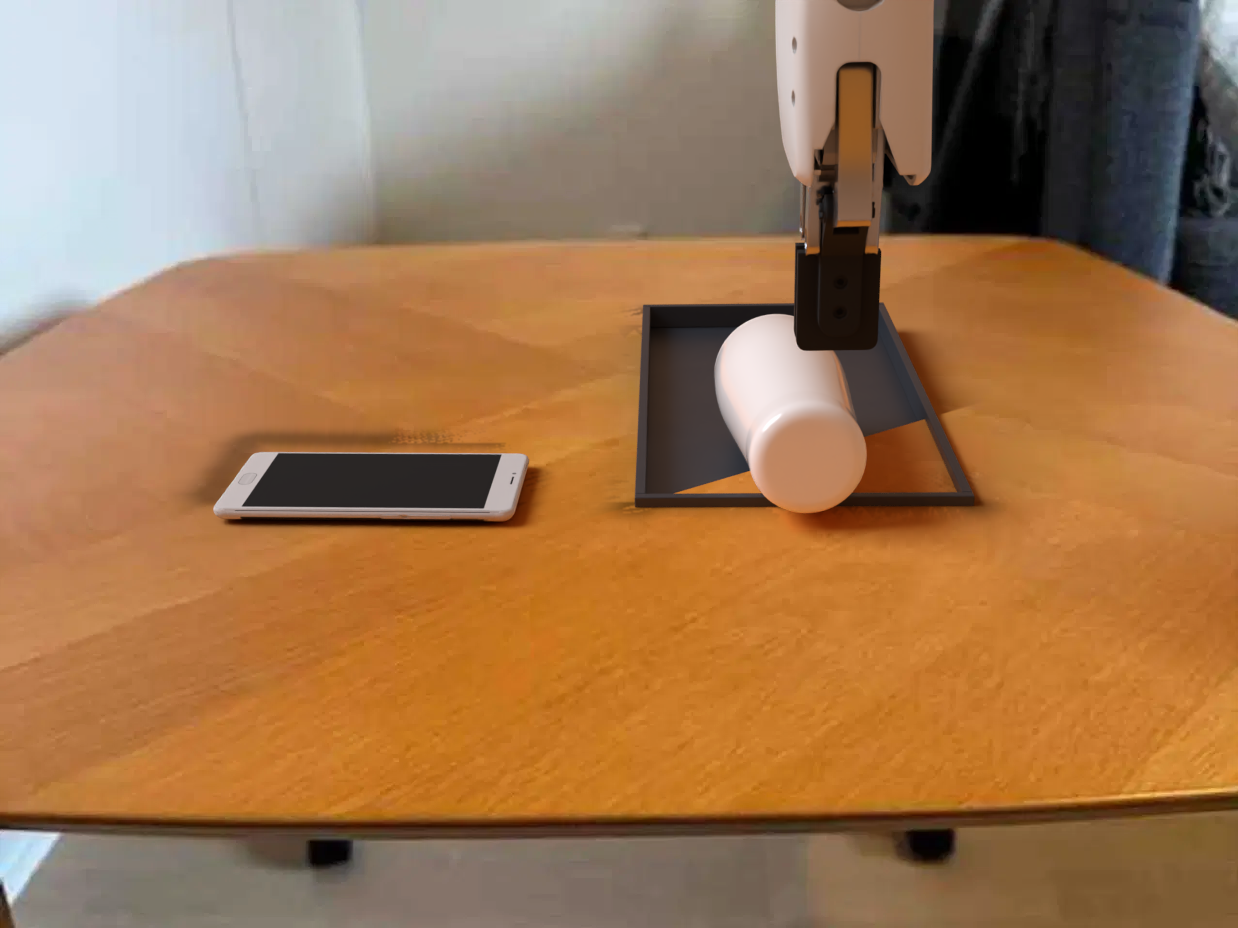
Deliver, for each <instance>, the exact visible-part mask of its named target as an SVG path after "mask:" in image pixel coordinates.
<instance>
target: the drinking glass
mask: <svg viewBox="0 0 1238 928" xmlns="http://www.w3.org/2000/svg"><path fill="white" fill-rule="evenodd" d="M714 381H715V392H716V398H717V402H718V406H719V409H720V413H721V415H722V418H723V420H724V422H725V424H726V426H727V428H728V430H729V432H730V434H731V435H732V437H733V439H734V441H735V442H736V444H737V446H738V448H739V449H740V451H741V453H742V455H743V457H744V458H745V460H746V462H747V464H748V466H749V469H750V471H749V472H750V475H751V478H752V480H753V483H754V484H755V485H756V488H757V489H758V491H759V493H762V494H763V495H764V496H765V497H766V498H767V499H768V500H769V501H771V502H772V503H773V504H775V505H777V506H779V507H778V508H781V509H783V510H785V511H788V512H793V513H797V514H814V513H821V512H823V511H827V510H830V509H833V508H834V506H836V505H838V504H839V503H841V502H842V501H844V500H845V499H846V498H847V497H848V496H849V495H850V494H851V493H854V491H855V490H856V489H857V488H858V486H859V484H860V482H861V481H862V478H863V476H864V473H865V470H866V466H867V460H868V459H867V458H868V451H867V450H868V449H867V443H866V440H865V437H864V436H863V433H862V431H861V429H860V427H859V425H858V422H857V418H856V414H855V410H854V406H853V402H852V398H851V394H850V389H849V385H848V381H847V378H846V374H845V371H844V369H843V366H842V364H841V362H840V360H839V358H838V356H837V354H836V352H835V351H834V350H833V351H803V350H801V349H800V348H799V347H798V346H797V342H796V337H795V334H794V316H790V315H784V314H770V315H764V316H760V317H756V318H754V319H751V320H749V321H747V322H745V323H744V324H742V325H741V326H739V327H738V328H737V329H735V330H734V331H733V332H732V333H731V334H730V335H729V337H728V338H727V339H726V340H725V342H724V343H723V345H722V347H721V349H720V351H719V353H718V356H717V359H716V363H715V369H714Z"/></svg>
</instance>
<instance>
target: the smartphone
mask: <svg viewBox="0 0 1238 928" xmlns="http://www.w3.org/2000/svg"><path fill="white" fill-rule="evenodd" d="M529 463H530V458H529V456H528V455H527V454H525V453H516V452H515V453H509V452H507V453H506V452H505V453H504V452H503V453H502V452H501V453H500V452H497V453H495V452H494V453H493V452H492V453H491V452H490V453H489V452H345V451H344V452H343V451H342V452H340V451H339V452H337V451H335V452H325V451H320V452H319V451H318V452H317V451H316V452H315V451H312V452H311V451H293V452H292V451H289V452H288V451H258V452H255V453H253V454H251V455H250V457H249V458H248V459H247V460H246V462H245V463H244V464H243V466H242V467H241V469H240V470H239V471H238V473H237V474H236V476H234V478H233V480H232V481H231V483H230V484H229V485H228V486H227V487H226V489H225V491H224V492H223V493H222V495H221V496H220V497H219V499H218V500H217V501H216V503H215V504H214V505H213V509H212V510H213V513H214V515H215V516H216V517H217V518H219V519H221V520H295V521H297V520H300V521H304V520H305V521H306V520H307V521H311V520H313V521H314V520H315V521H316V520H317V521H323V520H324V521H417V522H418V521H421V522H423V521H425V522H426V521H427V522H506V521H509V520H510V519H512V518H513V516H514V515H515V513H516V509H517V507H518V503H519V499H520V496H521V492H522V488H523V486H524V482H525V479H526V474H527V470H528V467H529Z"/></svg>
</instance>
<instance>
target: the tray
mask: <svg viewBox="0 0 1238 928" xmlns="http://www.w3.org/2000/svg"><path fill="white" fill-rule="evenodd" d="M770 314H784V315H790V316H794V302H789V303H788V302H785V303H784V302H783V303H782V302H778V303H775V302H773V303H772V302H769V303H766V302H765V303H677V304H676V303H672V304H671V303H670V304H669V303H668V304H667V303H665V304H664V303H663V304H662V303H661V304H660V303H659V304H642V317H641V342H640V366H639V387H638V389H639V390H638V410H637V411H638V413H637V433H636V434H637V437H636V456H635V457H636V458H635V479H634V480H635V482H634V483H635V484H634V508H636V509H637V508H780V507H779V506H777V505H775V504H773V503H772V502H771V501H769V500H768V499H767V498H766V497H765V496H764V495H763V494H762V493H761V492H717V493H716V492H714V493H711V492H710V493H709V492H708V493H707V492H705V493H703V492H701V493H699V492H697V493H693V492H692V493H680V492H684V491H687V490H690V489H694V488H698V487H701V486H704V485H708V484H710V483H714V482H717V481H721V480H724V479H727V478H730V477H735V476H739V475H741V474H743V473H747V472H750V469H749V466H748V464H747V462H746V460H745V458H744V457H743V455H742V453H741V451H740V449H739V448H738V446H737V444H736V442H735V441H734V439H733V437H732V435H731V434H730V432H729V430H728V428H727V426H726V424H725V422H724V420H723V418H722V415H721V413H720V409H719V406H718V402H717V398H716V392H715V381H714V369H715V363H716V359H717V356H718V353H719V351H720V349H721V347H722V345H723V343H724V342H725V340H726V339H727V338H728V337H729V335H730V334H731V333H732V332H733V331H734V330H735V329H737V328H738V327H739V326H741V325H742V324H744V323H745V322H747V321H749V320H751V319H754V318H756V317H760V316H764V315H770ZM834 351H835V352H836V354H837V356H838V358H839V360H840V362H841V364H842V366H843V369H844V371H845V374H846V378H847V381H848V385H849V389H850V394H851V398H852V402H853V406H854V410H855V414H856V418H857V422H858V425H859V427H860V429H861V431H862V433H863V436H864V438H866V437H870V436H873V435H876V434H880V433H883V432H887V431H891V430H893V429H897V428H899V427H904V426H906V425H910V424H913V423H917V422H920V421H923V420H924V421H925V423H926V426H927V428H928V430H929V432H930V434H931V437H932V438H933V441H934V443H935V445H936V448H937V450H938V453H939V455H940V457H941V459H942V462H943V463H944V466H945V468H946V470H947V472H948V475H949V477H950V479H951V482H952V484H953V486H954V488H955V490H956V491H937V492H936V491H930V492H929V491H926V492H925V491H924V492H923V491H918V492H912V491H911V492H909V491H908V492H907V491H905V492H904V491H902V492H901V491H900V492H897V491H896V492H895V491H893V492H890V491H889V492H852V493H851V494H850V495H849V496H848V497H847V498H846V499H845V500H844V501H842V502H841V503H839V504H838V505H836V506H834V507H835V508H837V507H840V508H842V507H845V508H847V507H853V508H855V507H974V506H975V494H974V492H973V490H972V488H971V486H970V483H969V481H968V479H967V477H966V475H965V473H964V471H963V469H962V467H961V464H960V462H959V460H958V458H957V455H956V453H955V452H954V449H953V447H952V444H951V443H950V441H949V439H948V436H947V435H946V432H945V430H944V428H943V426H942V424H941V421H940V420H939V418H938V416H937V413H936V411H935V408H934V407H933V404H932V402H931V401H930V400H931V399H930V398H929V397H928V394H927V392H926V390H925V387H924V385H923V383H922V381H921V379H920V377H919V374H918V373H917V370H916V369H915V366H914V364H913V362H912V360H911V358H910V356H909V353H908V351H907V349H906V347H905V345H904V343H903V341H902V339H901V337H900V334H899V332H898V330H897V328H896V326H895V324H894V321H893V319H892V318H891V316H890V313H889V311H888V309H887V307H886V305H885V303H884V302H883V301H882V302H881V301H879V322H878V341H877V344H876V346H875V347H874V348H872V349H870V350H834ZM834 507H833V508H834Z"/></svg>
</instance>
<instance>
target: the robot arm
mask: <svg viewBox="0 0 1238 928" xmlns="http://www.w3.org/2000/svg"><path fill="white" fill-rule="evenodd" d="M774 1H775V3H774V5H775V6H774V9H775V10H774V12H775V13H774V14H775V17H774V19H775V22H774V23H775V26H774V27H775V28H774V29H775V32H774V33H775V62H776V63H775V65H776V84H777V85H776V86H777V101H778V113H779V122H780V123H779V124H780V131H781V141H782V145H783V150H784V152H785V156H786V159H787V162H788V165H789V168H790V171H791V173H792V175H793V177H794V179H796V180H797V181H798V182H799V237H800V241H804V242H795V243H794V287H793V288H794V292H793V301H794V302H793V303H794V334H795V337H796V342H797V346H798V347H799V348H800V349H801V350H803V351H833V350H870V349H872V348H874V347H875V346H876V344H877V341H878V322H879V302H880V297H881V296H880V294H881V274H882V273H881V271H882V250H881V248H880V247H879V245H880V233H881V231H880V230H881V217H882V216H881V215H882V200H883V188H884V167H885V154H886V156H887V157H888V159H889V160H890V162H891V163H892V165H893V167H894V168H895V169H896V171H897V173H898V175H899V176H903V178H904V179H905V181H906V182H907V183H908V185H909V186H918V185H920V184H922V183H923V182H924V181H925V180H926V179H927V177H929V175H930V174H931V170H932V146H933V145H932V144H933V143H932V141H933V140H932V139H933V138H932V137H933V136H932V135H933V134H932V133H933V131H932V130H933V78H934V77H933V75H934V73H933V71H934V70H933V69H934V68H933V67H934V61H933V60H934V28H935V27H934V24H935V23H934V21H935V20H934V18H935V17H934V16H935V15H934V13H935V0H774Z"/></svg>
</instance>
